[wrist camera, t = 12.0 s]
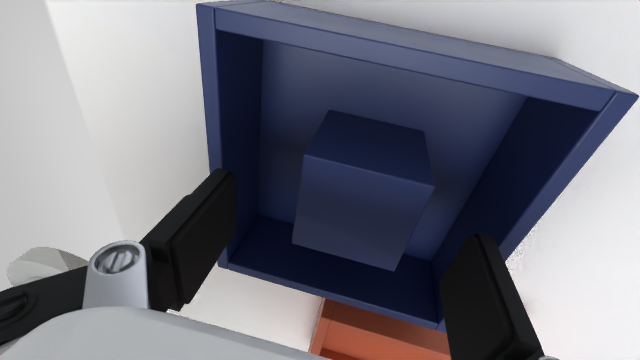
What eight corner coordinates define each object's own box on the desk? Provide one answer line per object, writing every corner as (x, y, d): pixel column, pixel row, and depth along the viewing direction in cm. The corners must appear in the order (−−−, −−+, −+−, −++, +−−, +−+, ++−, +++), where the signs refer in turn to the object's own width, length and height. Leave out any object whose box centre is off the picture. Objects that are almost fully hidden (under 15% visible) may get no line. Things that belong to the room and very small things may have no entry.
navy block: (314, 185, 16) (291, 243, 12) (328, 108, 13) (303, 154, 10) (394, 205, 16) (394, 272, 12) (424, 131, 13) (436, 187, 9)
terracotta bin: (310, 340, 27) (297, 398, 23) (334, 254, 20) (320, 317, 16) (443, 381, 26) (451, 448, 22) (518, 305, 19) (549, 385, 15)
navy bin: (252, 212, 19) (217, 267, 15) (256, -3, 12) (194, 2, 8) (436, 262, 18) (446, 334, 14) (558, 58, 11) (642, 95, 7)
